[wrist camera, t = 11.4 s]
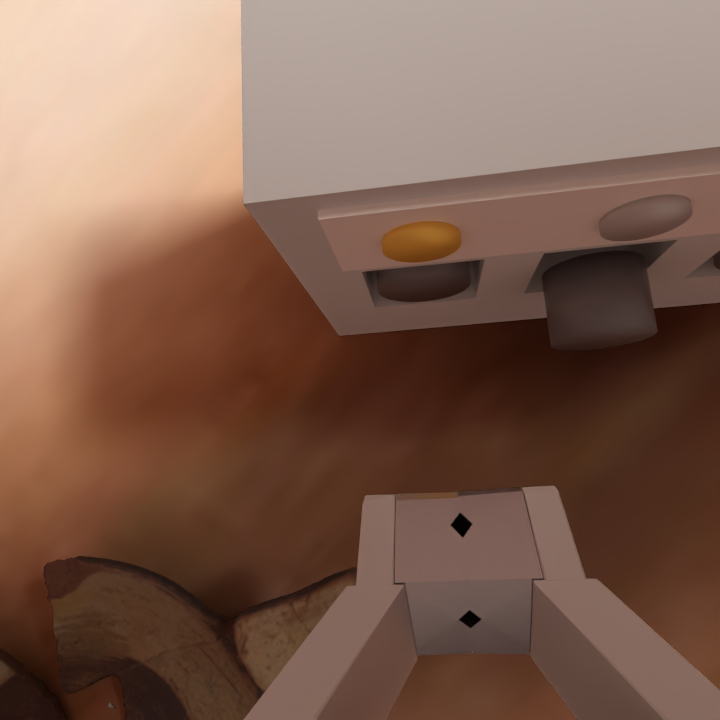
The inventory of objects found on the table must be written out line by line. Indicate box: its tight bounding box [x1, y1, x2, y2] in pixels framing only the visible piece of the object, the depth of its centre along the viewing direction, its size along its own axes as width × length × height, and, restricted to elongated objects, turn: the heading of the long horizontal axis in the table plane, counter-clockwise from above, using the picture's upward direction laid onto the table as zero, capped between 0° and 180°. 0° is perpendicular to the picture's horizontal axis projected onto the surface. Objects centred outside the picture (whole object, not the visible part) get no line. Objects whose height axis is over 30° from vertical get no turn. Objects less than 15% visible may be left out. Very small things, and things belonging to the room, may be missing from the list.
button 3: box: [377, 261, 471, 302], centre depth 24 cm, size 3×4×4 cm
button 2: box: [542, 250, 658, 351], centre depth 22 cm, size 3×4×4 cm
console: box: [241, 0, 720, 336], centre depth 23 cm, size 11×24×16 cm, turn 93°
